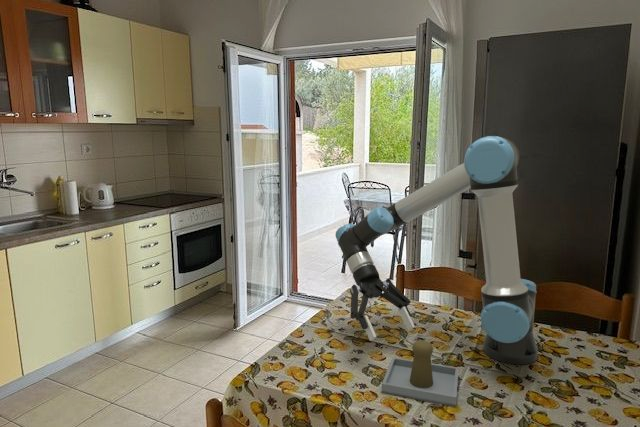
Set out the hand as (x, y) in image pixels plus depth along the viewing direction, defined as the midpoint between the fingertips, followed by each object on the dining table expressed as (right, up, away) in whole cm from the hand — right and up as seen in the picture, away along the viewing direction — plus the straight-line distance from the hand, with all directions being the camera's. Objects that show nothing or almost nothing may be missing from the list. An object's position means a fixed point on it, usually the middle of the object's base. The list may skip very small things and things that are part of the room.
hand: (393, 333), depth 124 cm
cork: (+6, -10, -9) cm, 15 cm away
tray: (+6, -11, -9) cm, 15 cm away
